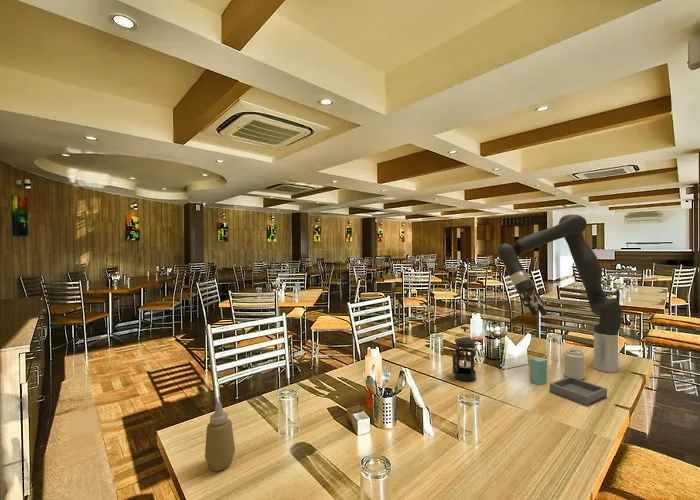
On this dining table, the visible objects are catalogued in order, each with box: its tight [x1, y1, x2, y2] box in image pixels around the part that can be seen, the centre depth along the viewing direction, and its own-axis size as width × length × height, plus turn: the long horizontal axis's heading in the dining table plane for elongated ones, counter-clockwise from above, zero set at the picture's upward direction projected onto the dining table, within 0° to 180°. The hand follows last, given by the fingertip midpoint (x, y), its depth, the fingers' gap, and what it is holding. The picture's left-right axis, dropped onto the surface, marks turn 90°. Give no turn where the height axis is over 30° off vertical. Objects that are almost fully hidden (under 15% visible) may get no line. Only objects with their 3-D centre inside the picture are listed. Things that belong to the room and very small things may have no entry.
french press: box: [452, 325, 477, 383], centre depth 154 cm, size 12×9×23 cm
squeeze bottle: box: [204, 401, 236, 472], centre depth 97 cm, size 8×8×18 cm
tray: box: [549, 376, 608, 407], centre depth 137 cm, size 14×14×4 cm
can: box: [563, 348, 586, 381], centre depth 153 cm, size 8×8×12 cm
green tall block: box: [529, 356, 548, 386], centre depth 149 cm, size 4×4×10 cm
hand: (540, 315), depth 152 cm, fingers open, 8 cm apart
